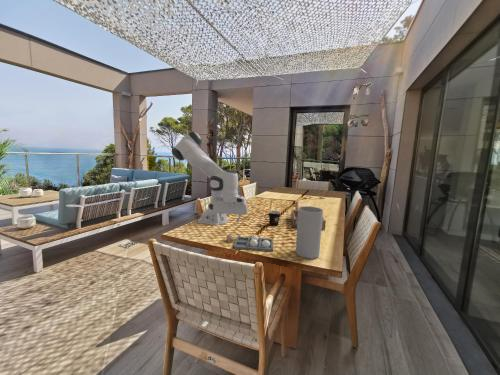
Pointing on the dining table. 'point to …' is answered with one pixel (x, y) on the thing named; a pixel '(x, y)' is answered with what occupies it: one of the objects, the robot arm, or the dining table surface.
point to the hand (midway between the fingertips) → (230, 220)
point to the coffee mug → (273, 218)
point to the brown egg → (230, 238)
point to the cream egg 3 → (266, 244)
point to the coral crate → (295, 219)
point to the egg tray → (245, 244)
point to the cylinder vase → (309, 231)
